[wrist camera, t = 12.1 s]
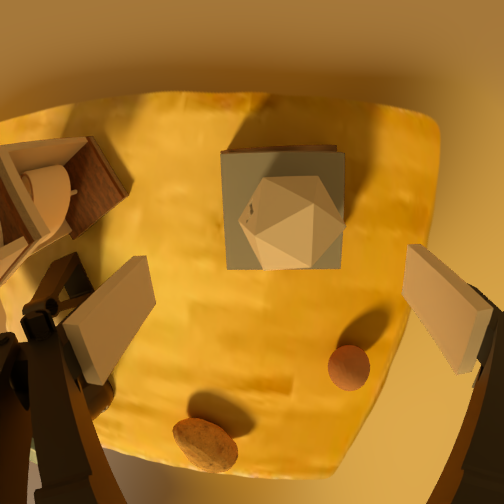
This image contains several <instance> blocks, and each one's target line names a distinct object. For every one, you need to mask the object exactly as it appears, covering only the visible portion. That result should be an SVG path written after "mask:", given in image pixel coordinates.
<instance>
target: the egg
mask: <svg viewBox="0 0 504 504" xmlns="http://www.w3.org/2000/svg"><path fill="white" fill-rule="evenodd" d="M328 372H329V375H330V378H331V380H332V381H333V382H334V383H335V384H336V385H337V386H338V387H339V388H341V389H343V390H346V391H353V390H357V389H359V388H360V387H361V386H363V385H364V383H365V382H366V380H367V378H368V376H369V372H370V364H369V359H368V357H367V355H366V353H365V352H364V351H363V350H362V349H361V348H359V347H357V346H354V345H344V346H342V347H340V348H338V349H336V350H335V351H334V352H333V354H332V355H331V357H330V359H329V363H328Z"/></svg>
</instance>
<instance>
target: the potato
mask: <svg viewBox="0 0 504 504" xmlns="http://www.w3.org/2000/svg"><path fill="white" fill-rule="evenodd" d="M173 435H174V438H175V441H176V443H177V444H178V446H179V447H180V448H181V450H182V451H183V452H184V454H185V455H186V456H187V458H188V460H189V461H190V462H191V463H193V464H194V465H196V466H198V467H200V468H201V469H203V470H205V471H207V472H209V473H219V472H224V471H228V470H229V469H230V468H231V467H232V466H233V465H234V464H235V462H236V460H237V457H238V448H237V445H236V443H235V442H234V441H233V440H232V439H231V438H230V436H229V435H228V434H227V433H226V432H225V431H224V430H223V429H222V428H220V427H219V426H218V425H216V424H213V423H211V422H208V421H206V420H203V419H199V418H188V419H184V420H182V421H179V422H178V423H177V424H176V425H175V426H174V427H173Z"/></svg>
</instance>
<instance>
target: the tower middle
mask: <svg viewBox="0 0 504 504" xmlns="http://www.w3.org/2000/svg"><path fill="white" fill-rule="evenodd" d="M220 155H221V176H222V195H223V213H224V229H225V245H226V260H227V270H263V268H262V266H261V264H260V262H259V260H258V258H257V256H256V254H255V253H254V251H253V249H252V247H251V245H250V243H249V241H248V239H247V237H246V235H245V233H244V231H243V229H242V227H241V225H240V223H239V221H238V220H239V218H240V216H241V214H242V213H243V211H244V209H245V207H246V206H247V204H248V202H249V200H250V199H251V197H252V195H253V194H254V192H255V190H256V188H257V187H258V185H259V183H260V181H261V180H262V178H263V177H283V176H319V178H320V180H321V182H322V183H323V185H324V187H325V189H326V190H327V192H328V194H329V196H330V197H331V199H332V201H333V203H334V205H335V206H336V208H337V210H338V212H339V214H340V216H341V218H342V219H343V217H344V187H345V153H341V152H336V151H248V152H227V153H223V154H220ZM342 237H343V231H342V232H341V234H340V235H339V236H338V237H337V238H336V240H335V241H334V242H333V243H332V244H331V245H330V246H329V248H328V249H327V250H326V251H325V252H324V253H323V255H322V256H321V257H320V258H319V259H318V260H317V261H316V262H315V264H314V265H313V266H312V267H310V268H295V269H340V267H341V254H342Z"/></svg>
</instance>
